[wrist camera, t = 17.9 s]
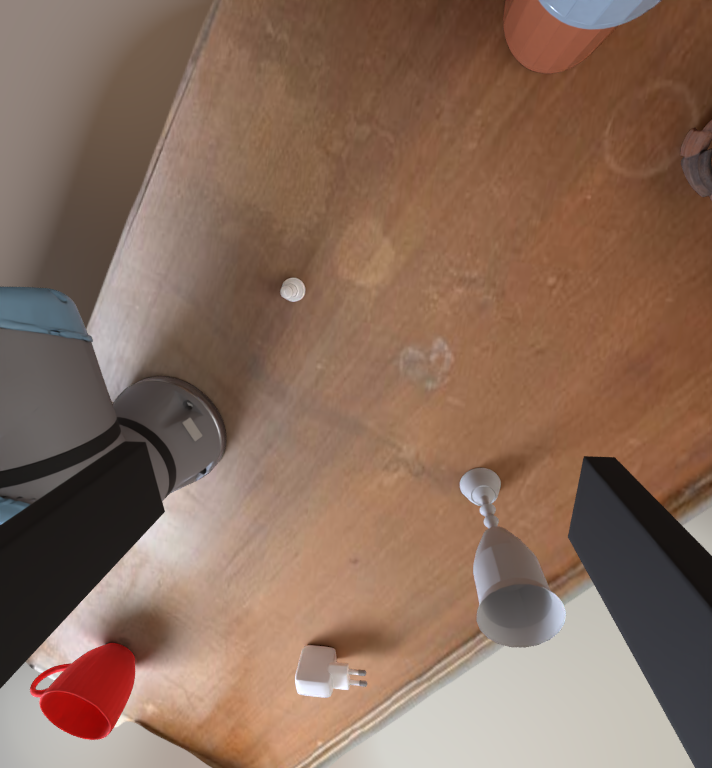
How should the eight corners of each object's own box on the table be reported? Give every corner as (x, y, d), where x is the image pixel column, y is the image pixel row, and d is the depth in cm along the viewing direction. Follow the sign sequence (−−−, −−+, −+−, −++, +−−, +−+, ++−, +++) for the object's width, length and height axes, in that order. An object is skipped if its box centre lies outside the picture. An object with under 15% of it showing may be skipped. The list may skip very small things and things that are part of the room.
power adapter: (367, 646, 60) (363, 686, 54) (369, 666, 61) (365, 706, 56) (302, 640, 62) (292, 678, 56) (305, 660, 63) (296, 698, 58)
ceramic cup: (65, 618, 69) (11, 676, 59) (149, 640, 67) (107, 703, 58) (73, 662, 73) (24, 722, 64) (152, 683, 72) (114, 748, 63)
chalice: (468, 452, 45) (503, 571, 28) (519, 472, 45) (584, 603, 28) (443, 496, 48) (461, 629, 31) (491, 515, 48) (535, 658, 31)
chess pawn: (301, 274, 40) (292, 277, 37) (308, 297, 41) (299, 302, 38) (280, 280, 41) (269, 283, 38) (287, 303, 42) (277, 307, 38)
